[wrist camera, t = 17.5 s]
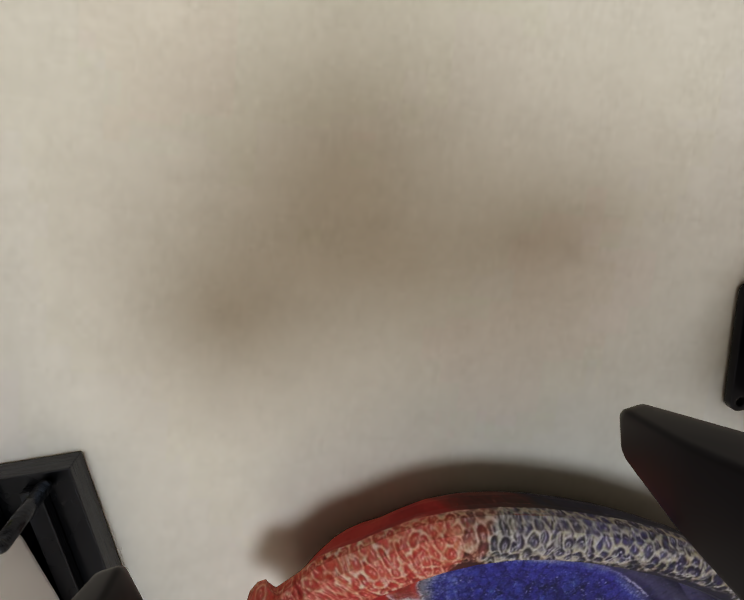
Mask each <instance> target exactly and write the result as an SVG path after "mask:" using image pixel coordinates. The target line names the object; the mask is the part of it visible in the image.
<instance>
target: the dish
mask: <svg viewBox="0 0 744 600" xmlns="http://www.w3.org/2000/svg"><path fill="white" fill-rule="evenodd" d="M247 600H740V599H739V598H738V597H737V595H736V594H735V593H734V592H733V591H732V590H731V589H730V588H729V586H728V585H727V584H726V583H725V582H724V581H723V580H722V579H721V578H720V576H719V575H718V574H717V573H716V572H715V571H714V570H713V569H712V567H711V566H710V565H709V564H708V563H707V562H706V561H705V560H704V559H703V557H702V556H701V555H700V554H699V553H698V552H697V551H696V550H695V548H694V547H693V546H692V545H691V544H690V543H689V542H688V540H687V539H686V538H685V537H684V536H683V535H682V533H681V532H679V531H677V530H675V529H673V528H670V527H668V526H666V525H663V524H660V523H657V522H654V521H651V520H648V519H645V518H642V517H639V516H636V515H632V514H629V513H626V512H623V511H619V510H616V509H612V508H608V507H604V506H600V505H596V504H592V503H587V502H582V501H576V500H571V499H566V498H560V497H554V496H546V495H539V494H531V493H521V492H501V491H483V492H465V493H454V494H448V495H443V496H438V497H433V498H427V499H423V500H420V501H418V502H415V503H413V504H410V505H407V506H405V507H402V508H399V509H397V510H395V511H393V512H390V513H388V514H386V515H384V516H381V517H379V518H376V519H372V520H369V521H365V522H362V523H360V524H357V525H355V526H353V527H351V528H348V529H346V530H345V531H343V532H342V533H340V534H339V535H337V536H336V537H334V538H333V539H332V540H331V541H330V542H329V543H327V544H326V545H325V546H324V547H323V548H322V549H321V550H320V551H319V552H318V553H316V555H315V556H314V557H313V558H312V559H311V560H310V561H309V563H308V564H307V565H306V566H305V567H304V568H303V569H302V570H301V571H299V572H298V573H297V574H296V575H294V576H293V577H291V578H290V579H288V580H287V581H285V582H284V583H282V584H281V585H279V586H278V587H274V586H273V585H271V584H270V583H269V582H268V581H267V580H266V579H265V580H262V581H259V582H257V584H256V585H255V586H254V587H253V588H252V590H251V591H250V593H249V596H248V599H247Z"/></svg>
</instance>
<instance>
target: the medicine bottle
mask: <svg viewBox="0 0 744 600" xmlns="http://www.w3.org/2000/svg"><path fill="white" fill-rule="evenodd" d="M0 600H60V599H59V597H58V596H57V594H56V592H55V591H54V589H53V587H52V586H51V584H50V582H49V581H48V579H47V577H46V576H45V574H44V572H43V571H42V569H41V567H40V566H39V564H38V562H37V561H36V559H35V557H34V556H33V554H32V552H31V551H30V549H29V547H28V546H27V544H26V542H25V541H24V539H23V537H22V536H21V535H19V536H18V538H17V539H16V540H15V542H14V543H13V544H12V546H11V547H10V549H9V550H8V551H7V552H5V553H3V554H0Z"/></svg>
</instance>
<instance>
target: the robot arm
mask: <svg viewBox="0 0 744 600" xmlns="http://www.w3.org/2000/svg"><path fill="white" fill-rule="evenodd" d="M724 401H725V404H726V405H727V406H729V407H730V408H732V409H734V410H736V411H740V410H744V284H743V285H742V287H741V288H740V290H739V293H738V300H737V308H736V315H735V323H734V330H733V338H732V346H731V353H730V361H729V368H728V376H727V383H726V391H725V398H724ZM620 430H621V447H622V451H623V454H624V456H625V458H626V460H627V461H628V462H629V464H630V465H631V467H632V468H633V469H634V471H635V472H636V473H637V475H638V476H639V477H640V479H641V480H642V481H643V483H644V484H645V486H646V487H647V488H648V490H649V491H650V492H651V494H652V495H653V496H654V498H655V499H656V500H657V502H658V503H659V505H660V506H661V507H662V509H663V510H664V511H665V513H666V514H667V515H668V517H669V518H670V520H671V521H672V522H673V523H674V525H675V526H676V527H677V529H678V530H679V531H680V532H681V533H682V535H683V536H684V537H685V538H686V539H687V540H688V542H689V543H690V544H691V545H692V546H693V547H694V548H695V550H696V551H697V552H698V553H699V554H700V555H701V556H702V557H703V559H704V560H705V561H706V562H707V563H708V564H709V565H710V566H711V567H712V569H713V570H714V571H715V572H716V573H717V574H718V575H719V576H720V578H721V579H722V580H723V581H724V582H725V583H726V584H727V585H728V586H729V588H730V589H731V590H732V591H733V592H734V593H735V594H736V595H737V597H738V598H739V599H740V600H744V432H741V431H738V430H734V429H731V428H727V427H723V426H720V425H716V424H713V423H709V422H706V421H702V420H699V419H695V418H692V417H688V416H685V415H681V414H678V413H674V412H670V411H667V410H663V409H660V408H656V407H653V406H649V405H645V404H640V405H636V406H633V407H630V408H627V409H624V410H623V411H622V412H621V414H620ZM71 600H143V599H142V597H141V595H140V593H139V591H138V589H137V588H136V586H135V584H134V582H133V580H132V578H131V576H130V574H129V572H128V571H127V569H126V568H125V567H123V566H115V567H112V568H109V569H106V570H102V571H100V572H97V573H96V574H94V575H93V576H92V577H91V579H90V580H89V581H88V582H87V583H86V584H85V585H84V586H83V587H82V588H81V590H80V591H79V592H78V593H77V594H76V595H75V596H74V597H73V598H72V599H71Z"/></svg>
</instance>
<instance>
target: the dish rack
mask: <svg viewBox="0 0 744 600" xmlns="http://www.w3.org/2000/svg"><path fill="white" fill-rule="evenodd" d="M19 535H21V536H22V537H23V539H24V541H25V542H26V544H27V546H28V547H29V549H30V551H31V552H32V554H33V556H34V557H35V559H36V561H37V562H38V564H39V566H40V567H41V569H42V571H43V572H44V574H45V576H46V577H47V579H48V581H49V582H50V584H51V586H52V587H53V589H54V591H55V592H56V594H57V596H58V597H59V599H60V600H71V599H72V598H73V597H74V596H75V595H76V594H77V593H78V592H79V591H80V590H81V588H82V587H83V586H84V585H85V584H86V583H87V582H88V581H89V580H90V579H91V577H92V576H93V575H94V574H96V573H97V572H100V571H102V570H106V569H109V568H112V567H115V566H121V563H120V560H119V557H118V554H117V551H116V548H115V546H114V543H113V540H112V537H111V534H110V531H109V529H108V526H107V523H106V520H105V517H104V514H103V512H102V509H101V506H100V503H99V500H98V497H97V495H96V492H95V489H94V486H93V483H92V480H91V478H90V475H89V472H88V469H87V466H86V463H85V461H84V458H83V455H82V452H74V453H68V454H62V455H56V456H50V457H43V458H37V459H31V460H25V461H19V462H13V463H6V464H0V554H3V553H5V552H7V551H8V550H9V549H10V547H11V546H12V544H13V543H14V542H15V540H16V539H17V538H18V536H19Z"/></svg>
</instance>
